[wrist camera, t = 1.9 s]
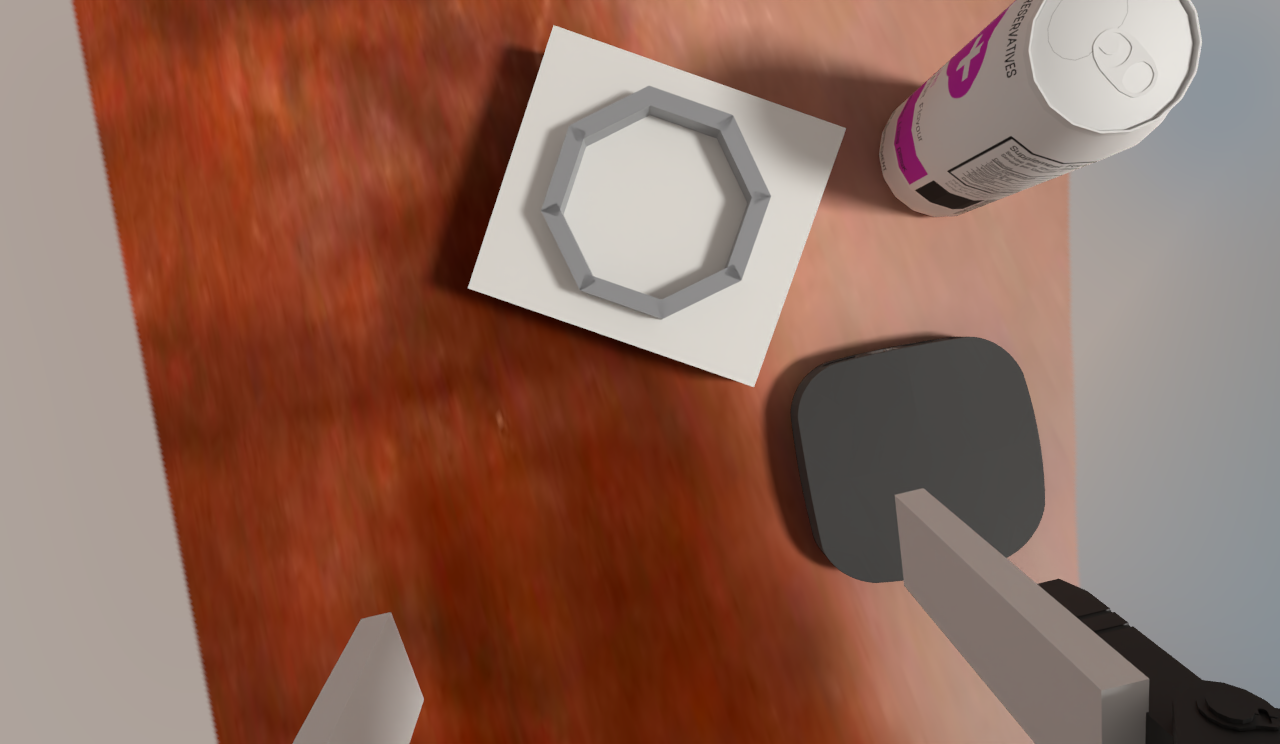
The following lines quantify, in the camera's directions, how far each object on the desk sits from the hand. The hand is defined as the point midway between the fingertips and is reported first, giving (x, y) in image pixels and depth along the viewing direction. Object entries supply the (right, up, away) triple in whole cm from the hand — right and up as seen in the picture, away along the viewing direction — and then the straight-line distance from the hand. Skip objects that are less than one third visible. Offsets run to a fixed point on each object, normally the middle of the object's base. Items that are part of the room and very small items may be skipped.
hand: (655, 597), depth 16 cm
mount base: (+1, +16, +25) cm, 29 cm away
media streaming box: (+17, 0, +26) cm, 31 cm away
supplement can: (+19, +20, +24) cm, 37 cm away
